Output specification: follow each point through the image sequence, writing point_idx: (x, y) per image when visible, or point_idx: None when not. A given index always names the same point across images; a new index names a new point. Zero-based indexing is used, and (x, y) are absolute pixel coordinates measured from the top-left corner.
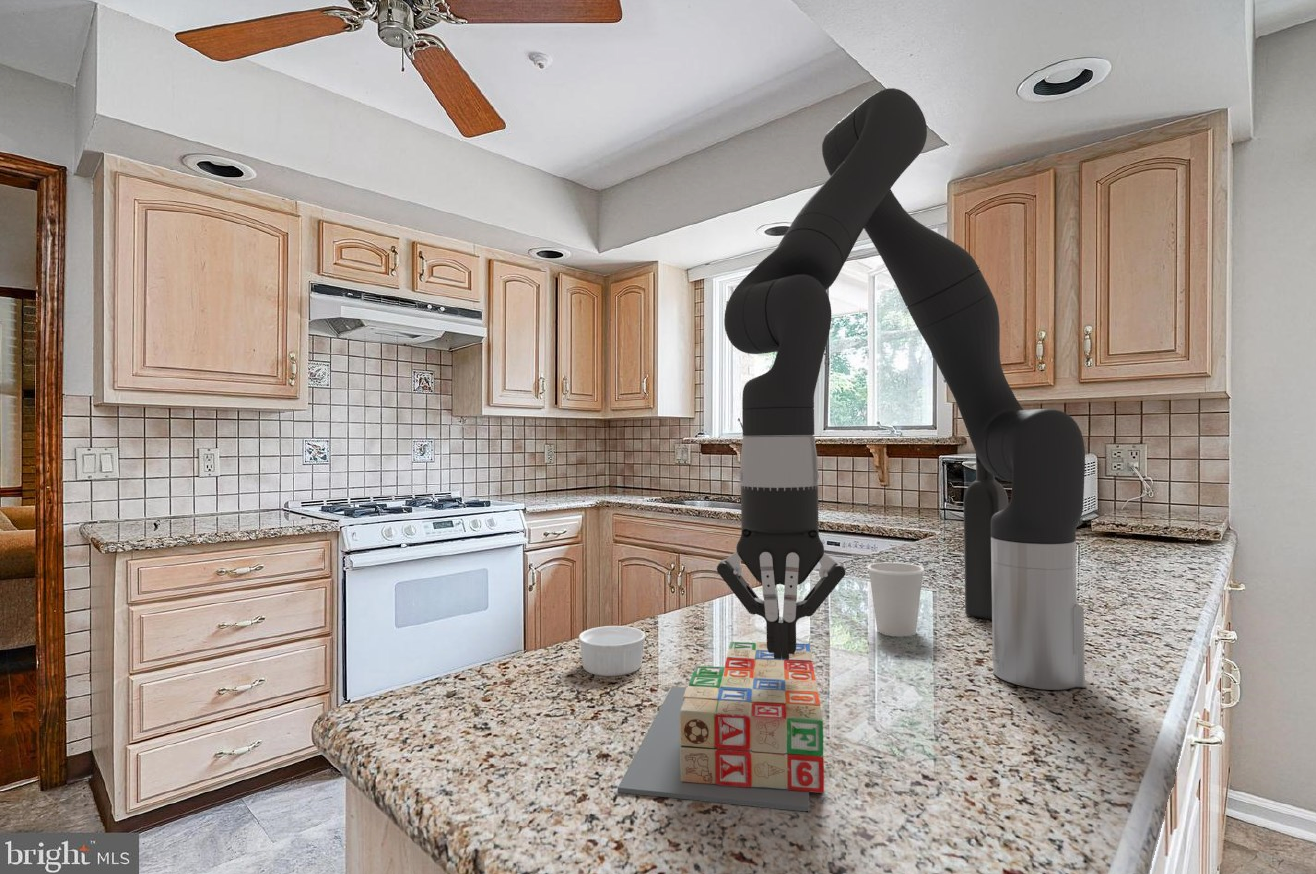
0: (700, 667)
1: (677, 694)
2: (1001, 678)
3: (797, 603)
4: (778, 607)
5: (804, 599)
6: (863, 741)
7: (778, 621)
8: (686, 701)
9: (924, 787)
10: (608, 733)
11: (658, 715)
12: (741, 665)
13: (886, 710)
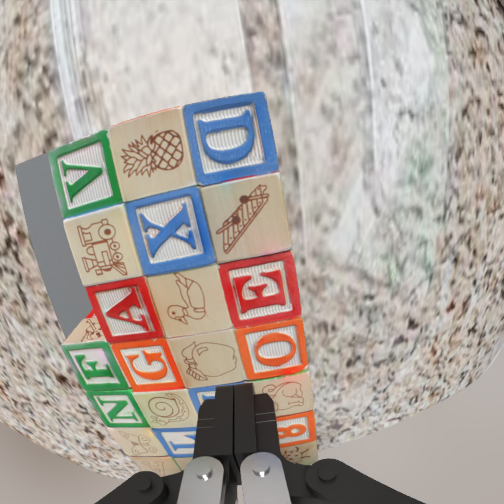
0: (71, 351)
1: (32, 195)
2: (501, 4)
3: (293, 502)
4: (224, 482)
5: (318, 499)
6: (354, 257)
7: (236, 480)
8: (138, 463)
9: (404, 345)
10: (31, 333)
11: (46, 283)
12: (131, 322)
13: (390, 121)
